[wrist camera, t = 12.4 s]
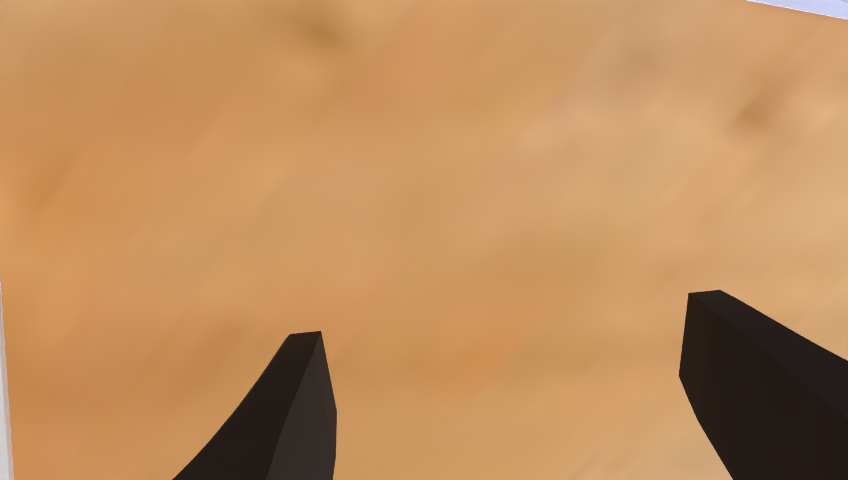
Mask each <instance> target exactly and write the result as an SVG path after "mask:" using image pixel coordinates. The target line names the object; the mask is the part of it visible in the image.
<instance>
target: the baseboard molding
mask: <svg viewBox="0 0 848 480" xmlns="http://www.w3.org/2000/svg"><path fill="white" fill-rule="evenodd" d="M0 480H14V473H13V458H12V443H11V428H10V414H9V399H8V384H7V369H6V355H5V340H4V325H3V310H2V296H1V281H0Z"/></svg>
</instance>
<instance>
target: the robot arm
mask: <svg viewBox="0 0 848 480" xmlns="http://www.w3.org/2000/svg"><path fill="white" fill-rule="evenodd" d="M748 1H753V2H758V3H763V4H769V5H774V6H779V7H784V8H790V9H795V10H800V11H805V12H811V13H816V14H821V15H826V16H832V17H837V18H842V19H847V20H848V0H748ZM679 377H680V380H681V382H682V385H683V387H684V390H685V392H686V394H687V397H688V399H689V402H690V404H691V406H692V408H693V411H694V413H695V415H696V417H697V420H698V422H699V423H700V425H701V427H702V428H703V430H704V432H705V434H706V435H707V437H708V439H709V440H710V442H711V444H712V445H713V447H714V449H715V450H716V452H717V454H718V455H719V457H720V459H721V460H722V462H723V464H724V465H725V467H726V469H727V470H728V472H729V474H730V475H731V477H732V479H733V480H848V361H847V360H845V359H843V358H841V357H839V356H837V355H835V354H834V353H832V352H830V351H828V350H826V349H824V348H822V347H820V346H819V345H817V344H815V343H813V342H811V341H810V340H808V339H806V338H804V337H803V336H801V335H799V334H797V333H795V332H794V331H792V330H790V329H788V328H787V327H785V326H783V325H782V324H780V323H778V322H776V321H775V320H773V319H771V318H769V317H768V316H766V315H764V314H763V313H761V312H759V311H757V310H756V309H754V308H752V307H751V306H749V305H747V304H745V303H744V302H742V301H740V300H738V299H736V298H735V297H733V296H731V295H729V294H727V293H725V292H723V291H721V290H714V291H704V292H695V293H689V294H688V302H687V311H686V319H685V328H684V336H683V345H682V353H681V361H680V370H679ZM336 425H337V410H336V405H335V400H334V395H333V390H332V384H331V379H330V374H329V369H328V364H327V359H326V354H325V349H324V344H323V339H322V334H321V331H316V332H306V333H297V334H290V335H289V336H288V337H287V338H286V339H285V341H284V342H283V344H282V345H281V347H280V348H279V350H278V351H277V353H276V354H275V356H274V357H273V359H272V360H271V362H270V363H269V365H268V366H267V367H266V369H265V370H264V372H263V373H262V375H261V376H260V377H259V379H258V380H257V382H256V383H255V384H254V386H253V387H252V388H251V390H250V391H249V392H248V394H247V395H246V397H245V398H244V399H243V401H242V402H241V403H240V405H239V406H238V407H237V408H236V410H235V411H234V412H233V413H232V415H231V416H230V417H229V418H228V419H227V421H226V422H225V423H224V424H223V426H222V427H221V428H220V429H219V430H218V432H217V433H216V434H215V435H214V436H213V438H212V439H211V440H210V441H209V442H208V443H207V444H206V445H205V447H204V448H203V449H202V450H201V451H200V452H199V453H198V454H197V455H196V456H195V457H194V458H193V460H192V461H191V462H190V463H189V464H188V465H187V466H186V467H185V468H184V469H183V470H182V471H181V472H180V473H179V474H178V475H177V476H176V477H175V478H174V479H172V480H333V473H334V466H335V459H336Z"/></svg>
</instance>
